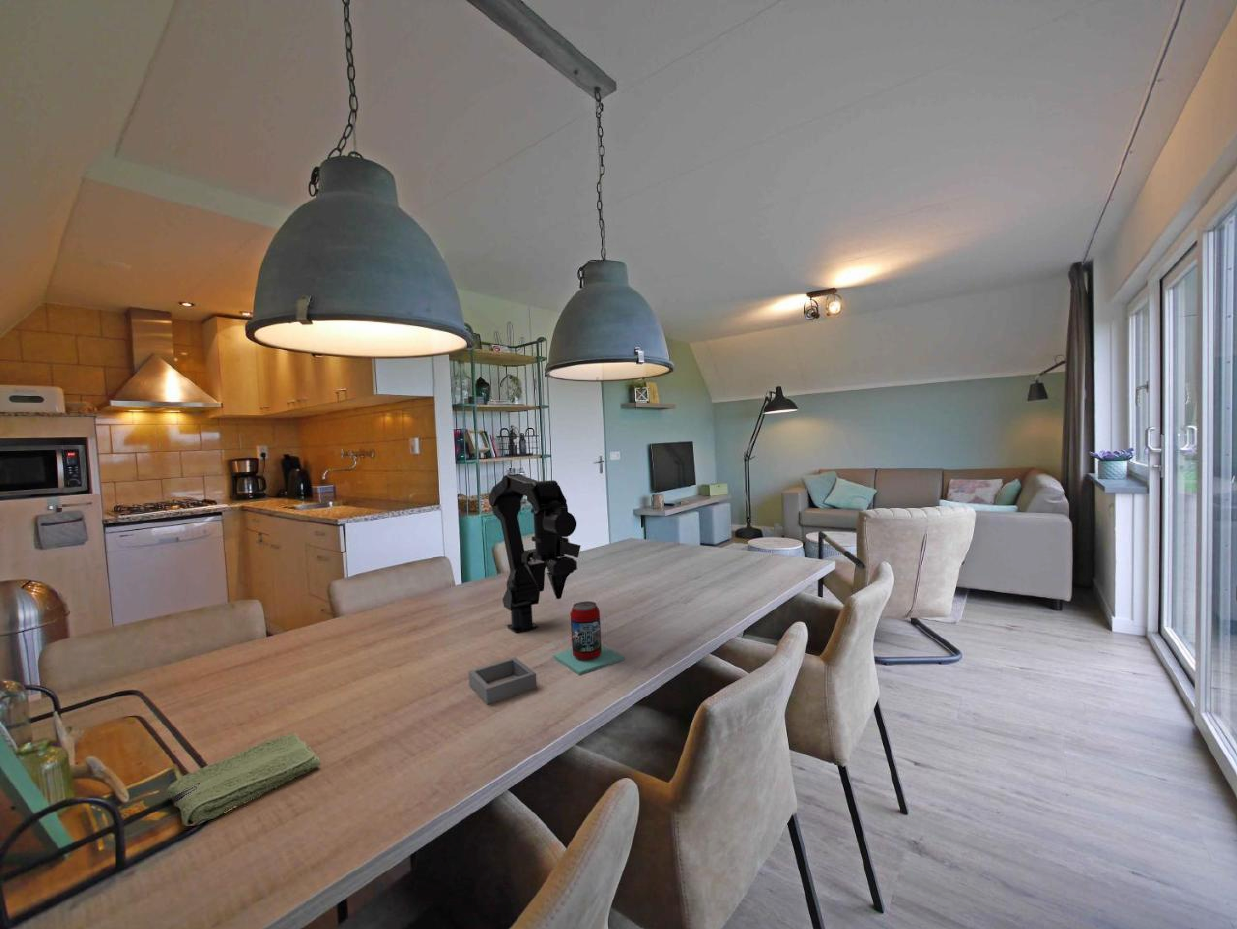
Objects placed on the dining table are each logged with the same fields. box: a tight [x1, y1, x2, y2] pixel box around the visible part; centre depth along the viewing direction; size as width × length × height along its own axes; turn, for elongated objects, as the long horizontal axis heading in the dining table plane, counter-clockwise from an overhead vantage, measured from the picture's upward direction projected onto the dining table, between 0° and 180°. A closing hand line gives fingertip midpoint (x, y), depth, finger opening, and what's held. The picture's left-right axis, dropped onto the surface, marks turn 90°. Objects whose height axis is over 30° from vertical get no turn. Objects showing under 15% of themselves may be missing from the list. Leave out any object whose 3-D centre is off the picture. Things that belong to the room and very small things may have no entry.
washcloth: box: [165, 733, 321, 827], centre depth 81 cm, size 13×18×3 cm
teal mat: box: [552, 644, 625, 676], centre depth 121 cm, size 12×12×1 cm
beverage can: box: [570, 601, 602, 660], centre depth 120 cm, size 7×7×12 cm
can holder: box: [467, 657, 538, 705], centre depth 109 cm, size 11×11×3 cm
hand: (550, 594), depth 128 cm, fingers open, 9 cm apart
